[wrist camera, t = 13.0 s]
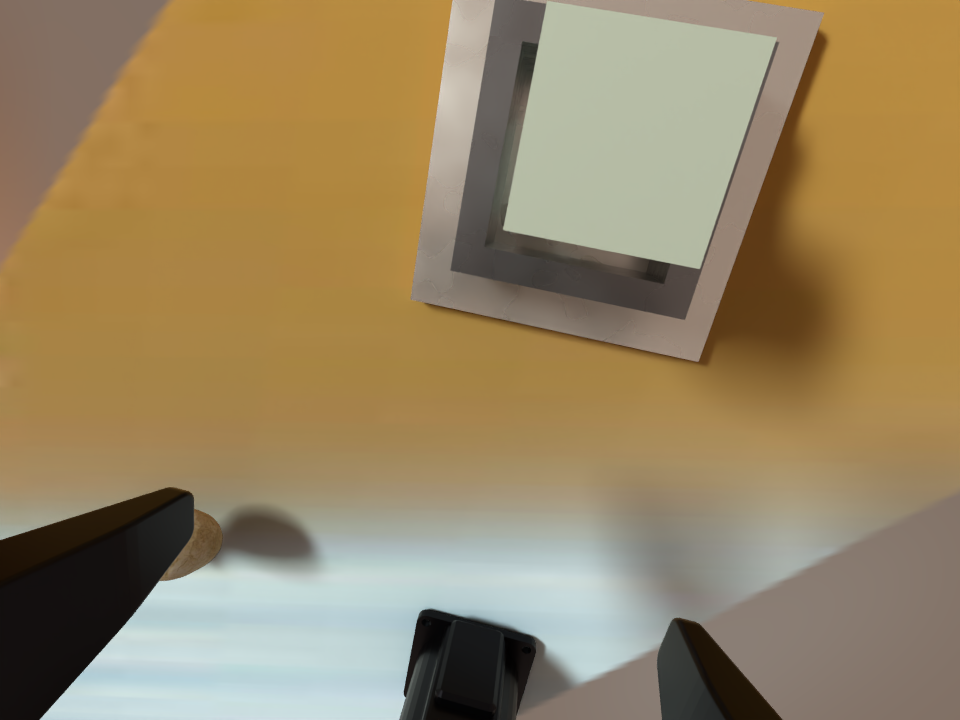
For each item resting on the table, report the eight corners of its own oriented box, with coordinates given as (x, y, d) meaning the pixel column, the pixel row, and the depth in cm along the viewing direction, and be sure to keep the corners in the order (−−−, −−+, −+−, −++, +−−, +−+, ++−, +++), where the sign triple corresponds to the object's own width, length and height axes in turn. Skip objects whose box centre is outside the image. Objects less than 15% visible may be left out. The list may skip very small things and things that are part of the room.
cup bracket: (692, 356, 20) (725, 388, 16) (415, 296, 20) (387, 314, 17) (811, 22, 16) (888, -34, 12) (463, -34, 17) (439, -102, 13)
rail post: (628, 241, 18) (699, 268, 9) (524, 221, 18) (503, 229, 10) (659, 126, 17) (776, 37, 8) (547, 107, 17) (547, 0, 8)
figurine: (116, 553, 31) (265, 531, 24) (35, 610, 27) (186, 603, 20) (84, 506, 30) (229, 470, 23) (-4, 558, 26) (139, 532, 19)
